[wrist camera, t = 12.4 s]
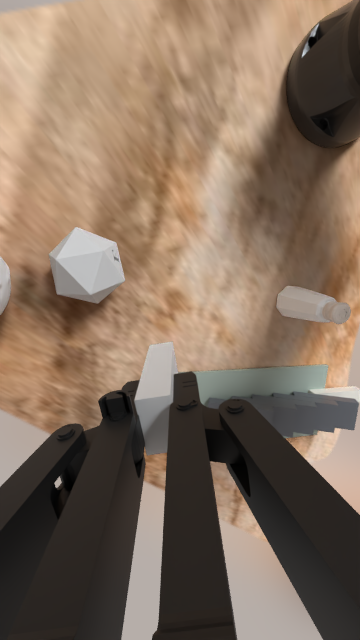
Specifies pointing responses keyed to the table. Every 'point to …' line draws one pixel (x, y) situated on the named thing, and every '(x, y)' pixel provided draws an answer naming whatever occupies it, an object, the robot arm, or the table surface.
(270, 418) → the domino
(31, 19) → the table surface
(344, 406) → the domino
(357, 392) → the domino
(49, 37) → the table surface
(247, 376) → the felt mat
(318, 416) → the domino
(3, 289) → the decorative ball
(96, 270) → the die
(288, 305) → the salt shaker
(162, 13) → the table surface
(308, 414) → the domino
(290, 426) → the domino
